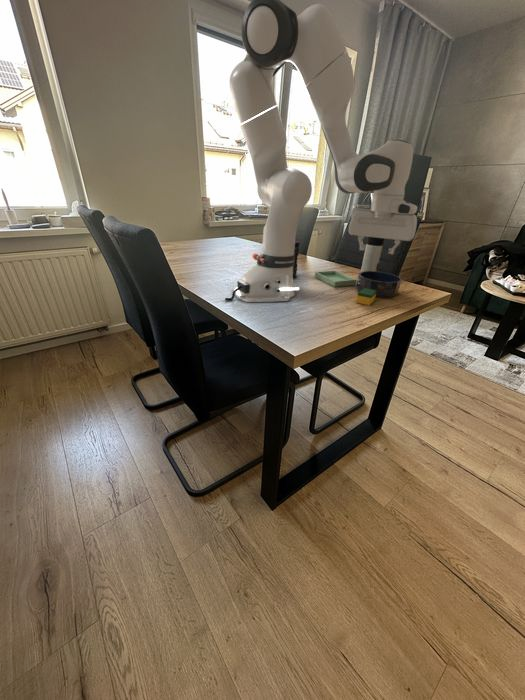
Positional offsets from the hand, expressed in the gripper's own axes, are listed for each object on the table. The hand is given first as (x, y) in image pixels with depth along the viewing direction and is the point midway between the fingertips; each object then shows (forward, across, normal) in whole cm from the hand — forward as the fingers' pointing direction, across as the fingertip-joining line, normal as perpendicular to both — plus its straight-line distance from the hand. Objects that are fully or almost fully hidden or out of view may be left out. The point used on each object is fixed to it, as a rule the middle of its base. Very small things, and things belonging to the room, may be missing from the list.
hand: (375, 252), depth 94 cm
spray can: (+17, -8, +28) cm, 34 cm away
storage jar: (+17, -38, +8) cm, 42 cm away
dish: (+17, -18, +16) cm, 29 cm away
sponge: (+17, 0, -1) cm, 17 cm away
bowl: (+17, 0, +13) cm, 22 cm away
